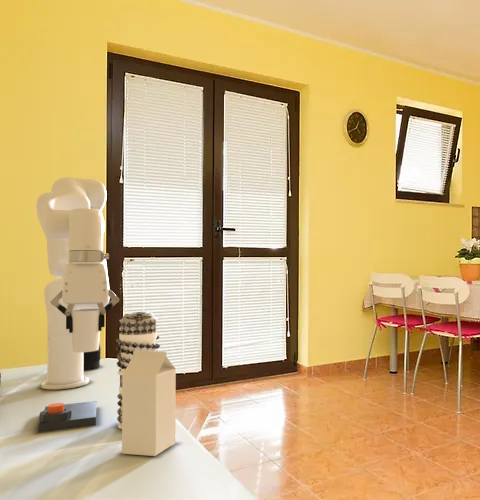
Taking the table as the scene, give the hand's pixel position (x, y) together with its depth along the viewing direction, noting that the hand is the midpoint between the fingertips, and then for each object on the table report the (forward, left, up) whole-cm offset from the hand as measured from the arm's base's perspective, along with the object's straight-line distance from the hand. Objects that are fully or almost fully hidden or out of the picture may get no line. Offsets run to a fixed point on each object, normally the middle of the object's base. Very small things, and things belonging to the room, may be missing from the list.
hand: (85, 330), depth 127 cm
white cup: (0, 0, -5) cm, 5 cm away
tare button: (+11, -6, -17) cm, 21 cm away
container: (-58, -2, -20) cm, 61 cm away
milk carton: (+35, +12, -20) cm, 42 cm away
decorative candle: (+17, +11, -20) cm, 29 cm away
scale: (+7, -3, -20) cm, 21 cm away
